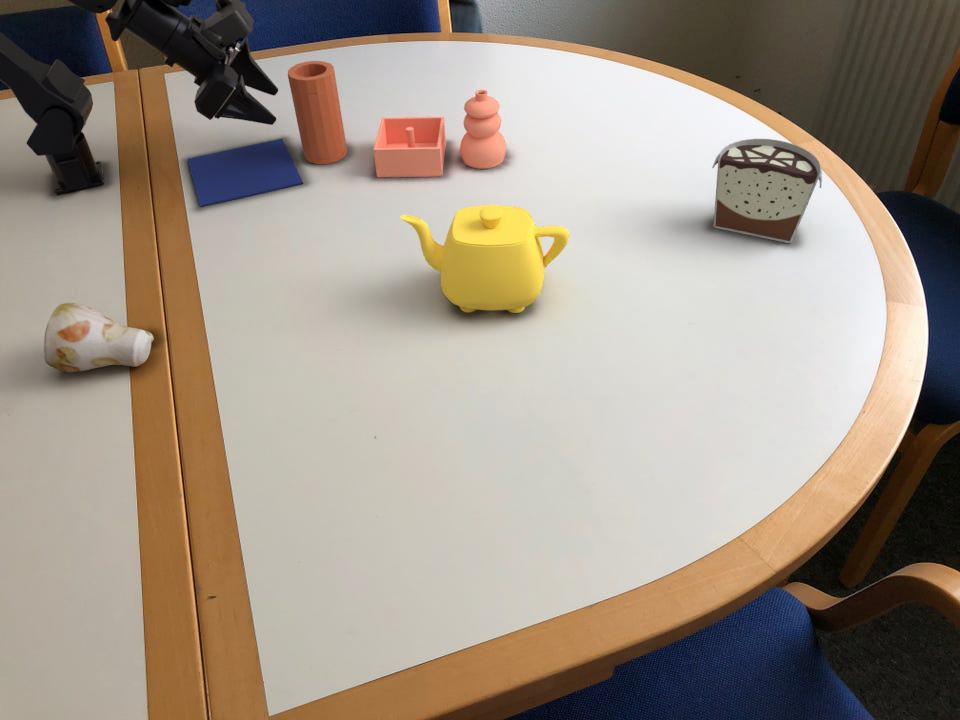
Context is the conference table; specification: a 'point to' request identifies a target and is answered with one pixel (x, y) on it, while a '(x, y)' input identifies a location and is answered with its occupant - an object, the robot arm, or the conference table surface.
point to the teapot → (491, 257)
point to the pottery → (439, 141)
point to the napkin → (243, 172)
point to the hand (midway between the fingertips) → (275, 106)
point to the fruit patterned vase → (91, 340)
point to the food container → (764, 187)
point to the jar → (318, 111)
